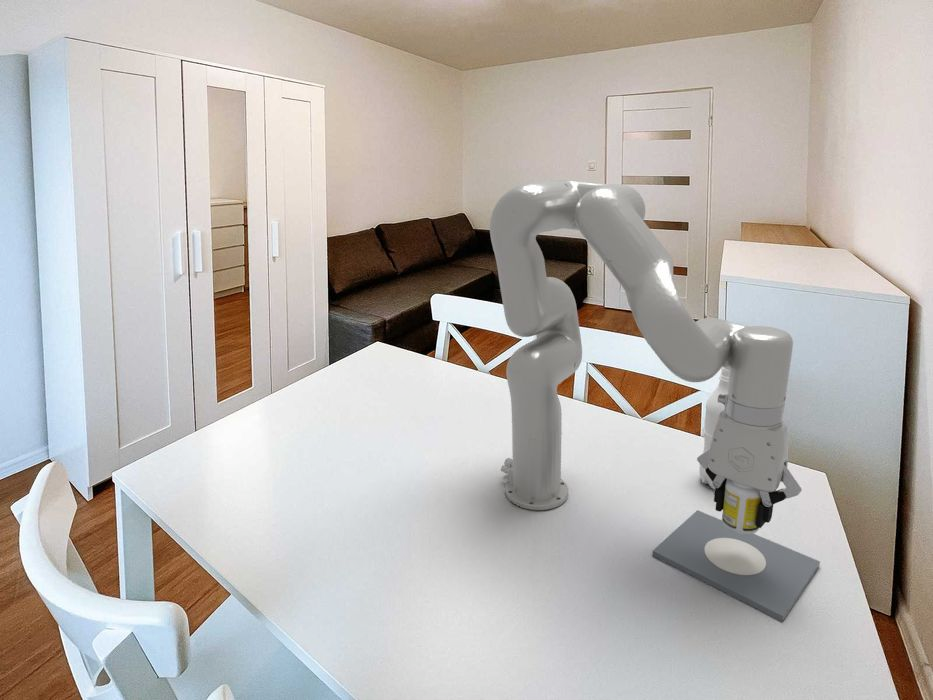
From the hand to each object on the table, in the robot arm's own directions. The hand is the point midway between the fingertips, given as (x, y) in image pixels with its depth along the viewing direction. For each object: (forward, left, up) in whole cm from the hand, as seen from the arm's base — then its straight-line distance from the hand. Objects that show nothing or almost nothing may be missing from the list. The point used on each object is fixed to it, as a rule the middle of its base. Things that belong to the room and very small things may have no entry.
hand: (741, 514), depth 86 cm
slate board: (0, 0, -9) cm, 9 cm away
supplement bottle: (0, 0, -2) cm, 2 cm away
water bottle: (-12, +21, -9) cm, 26 cm away
